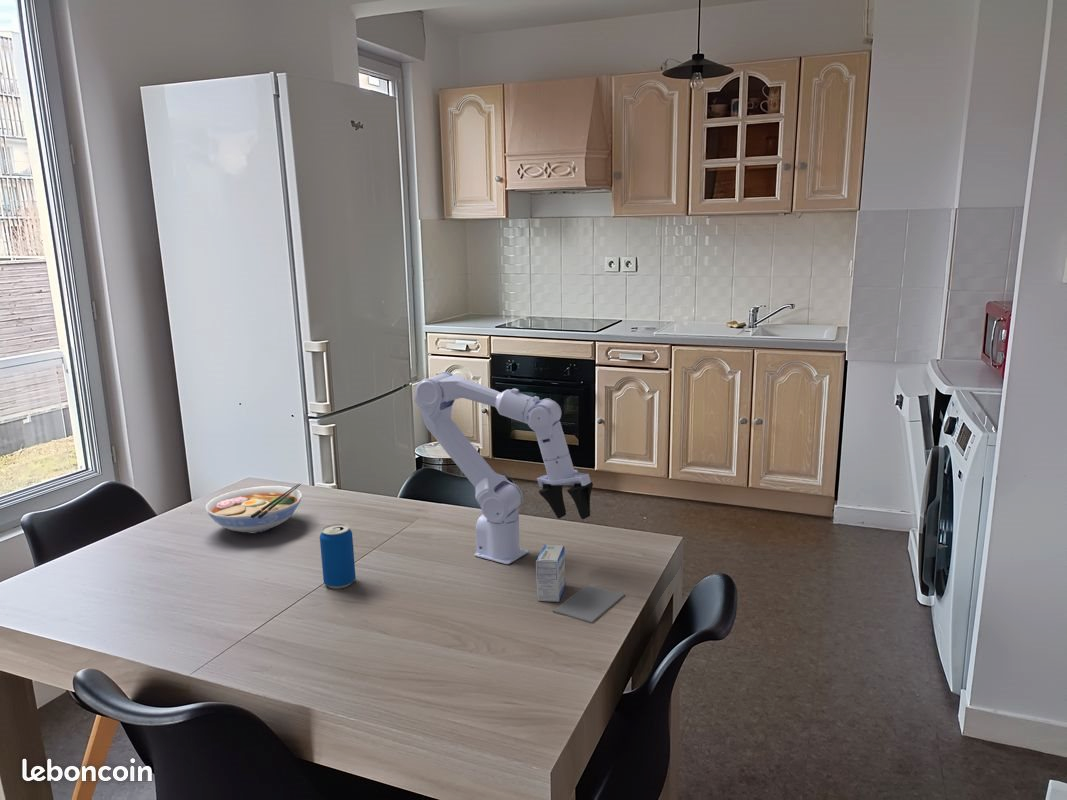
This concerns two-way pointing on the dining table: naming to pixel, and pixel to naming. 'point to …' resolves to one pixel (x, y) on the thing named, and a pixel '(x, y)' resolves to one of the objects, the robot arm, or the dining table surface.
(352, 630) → the dining table surface
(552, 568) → the medicine box
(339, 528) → the beverage can
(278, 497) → the ramen bowl
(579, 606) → the mat
